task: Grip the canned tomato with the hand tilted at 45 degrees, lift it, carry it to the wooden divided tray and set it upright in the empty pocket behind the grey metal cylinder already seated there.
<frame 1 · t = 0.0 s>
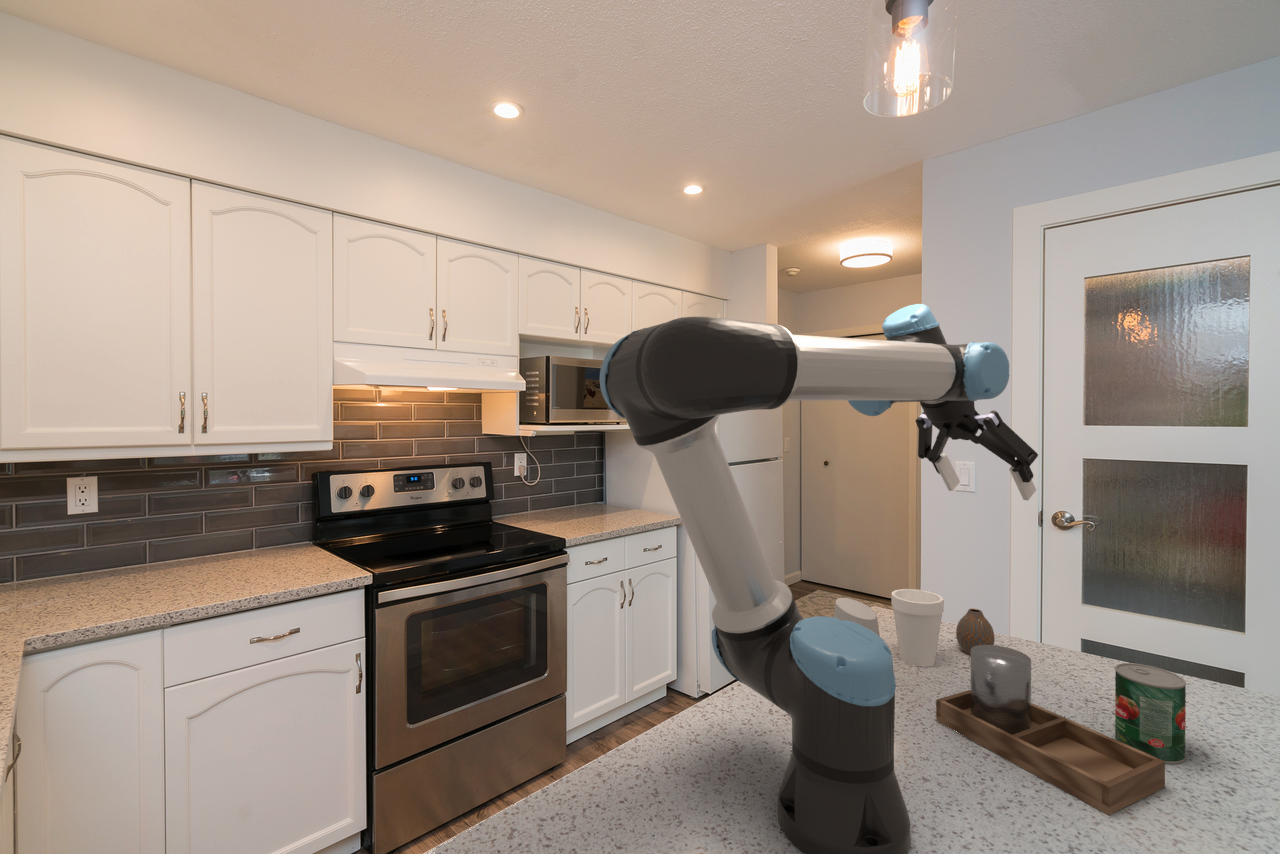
hand: (990, 490, 103), 36 cm above the countertop, tool tilted 35°, fingers open, 13 cm apart
foam cup: (917, 661, 117), on the countertop
smart speaker: (856, 677, 111), on the countertop
vase: (975, 653, 121), on the countertop
seated cylinder: (999, 731, 91), resting on wooden divided tray
canned tomato: (1148, 749, 86), on the countertop
wooden divided tray: (1039, 751, 86), on the countertop
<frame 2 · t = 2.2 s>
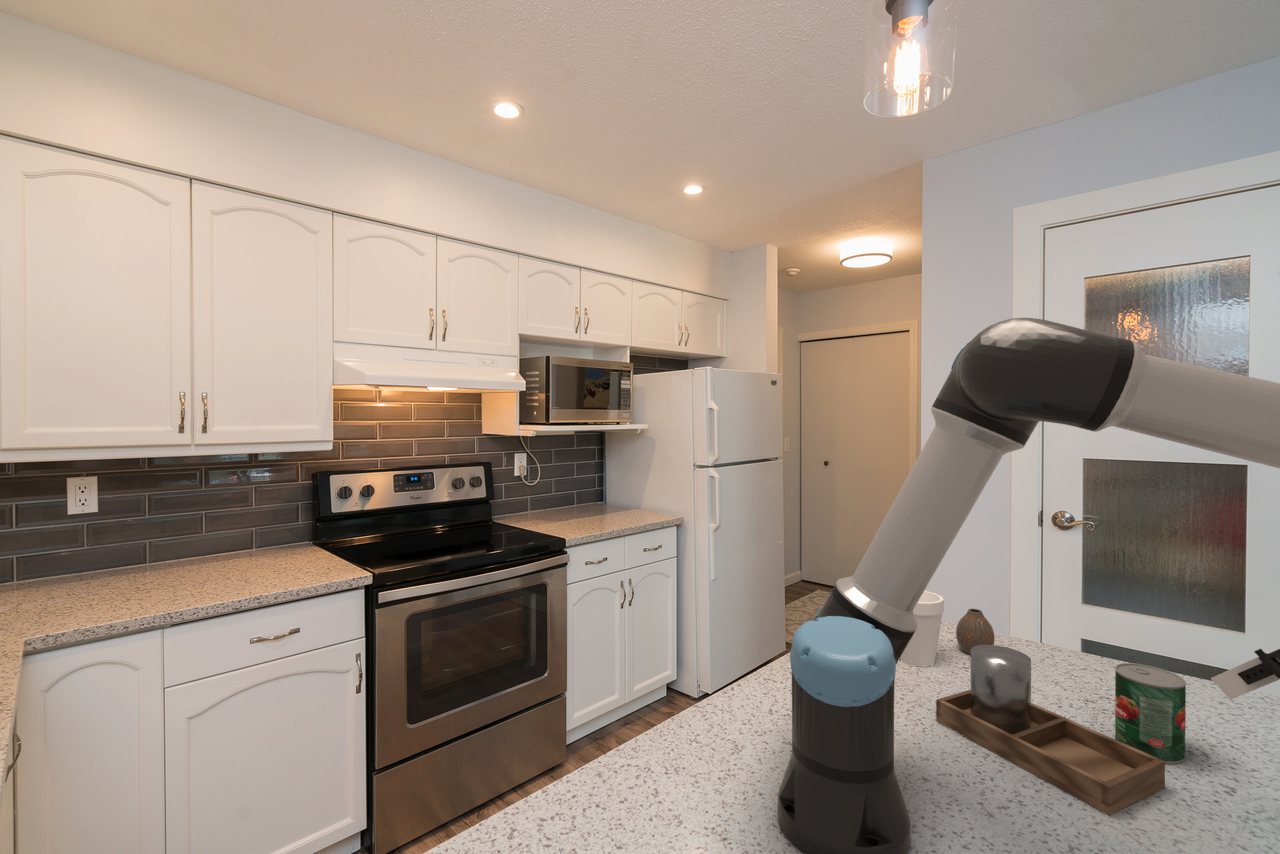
hand: (1247, 677, 76), 15 cm above the countertop, tool tilted 45°, fingers open, 13 cm apart
nothing on the countertop moved.
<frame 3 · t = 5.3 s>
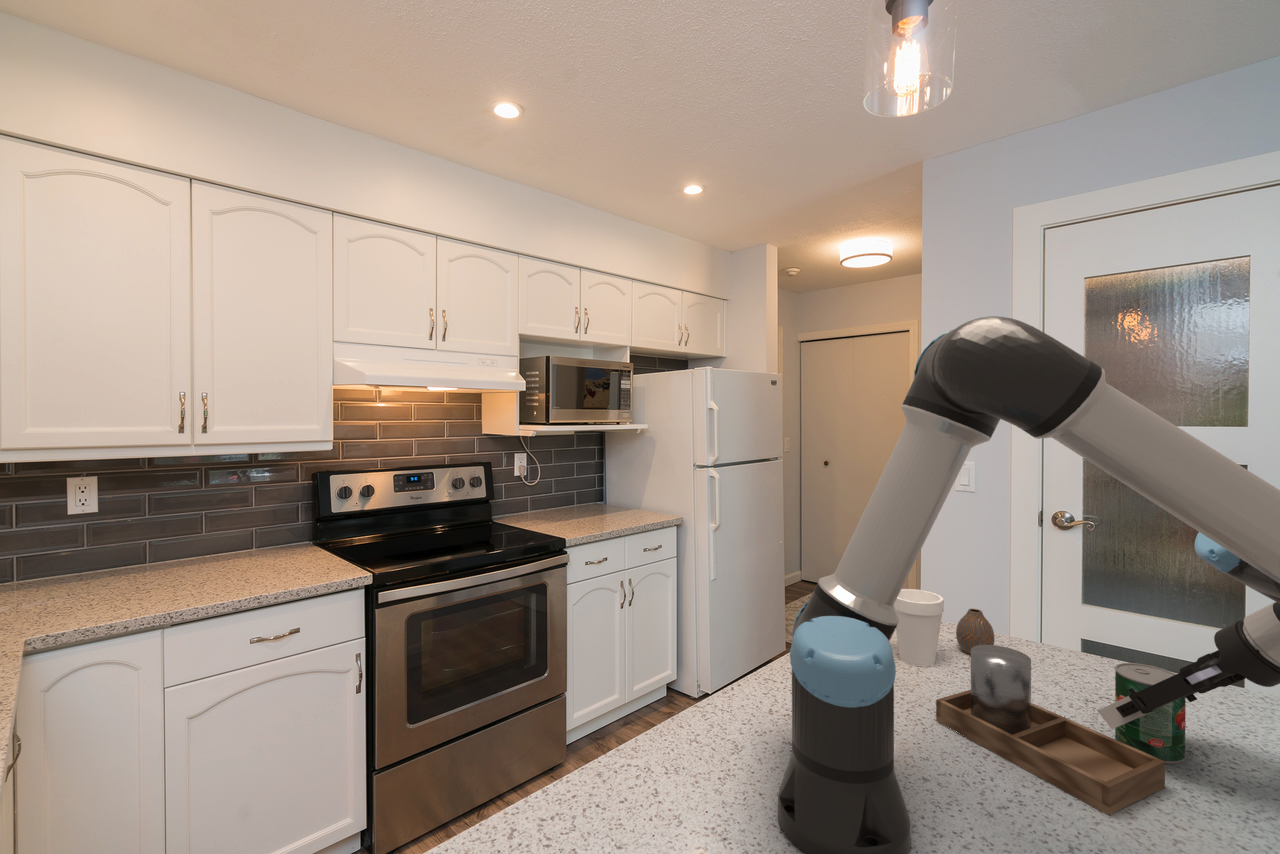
hand: (1122, 713, 89), 4 cm above the countertop, tool tilted 45°, fingers closed on canned tomato, 8 cm apart
canned tomato: (1148, 749, 86), on the countertop, touching gripper
everything else where it was.
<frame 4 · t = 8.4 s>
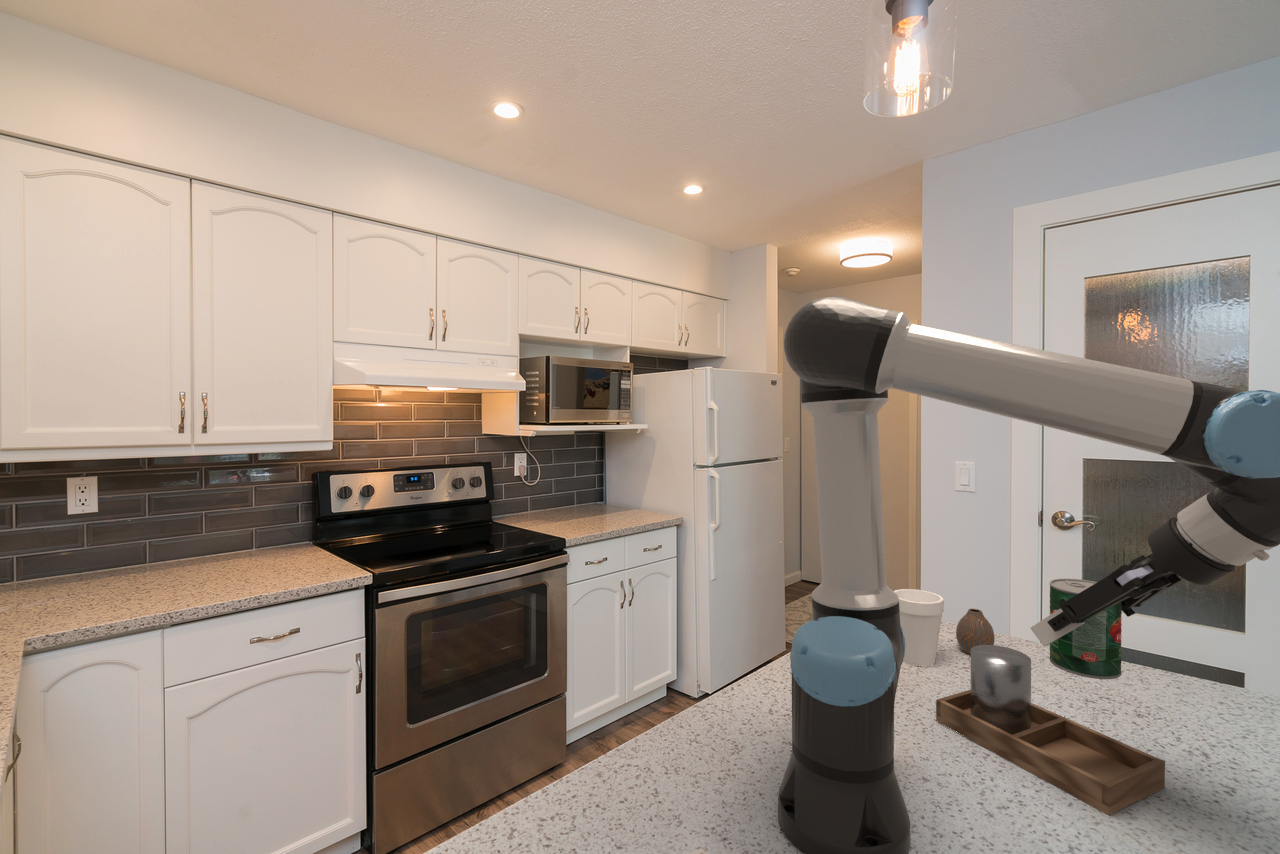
hand: (1057, 631, 83), 18 cm above the countertop, tool tilted 45°, fingers closed on canned tomato, 8 cm apart
canned tomato: (1084, 667, 80), point 15 cm above the countertop, touching gripper
everything else where it was.
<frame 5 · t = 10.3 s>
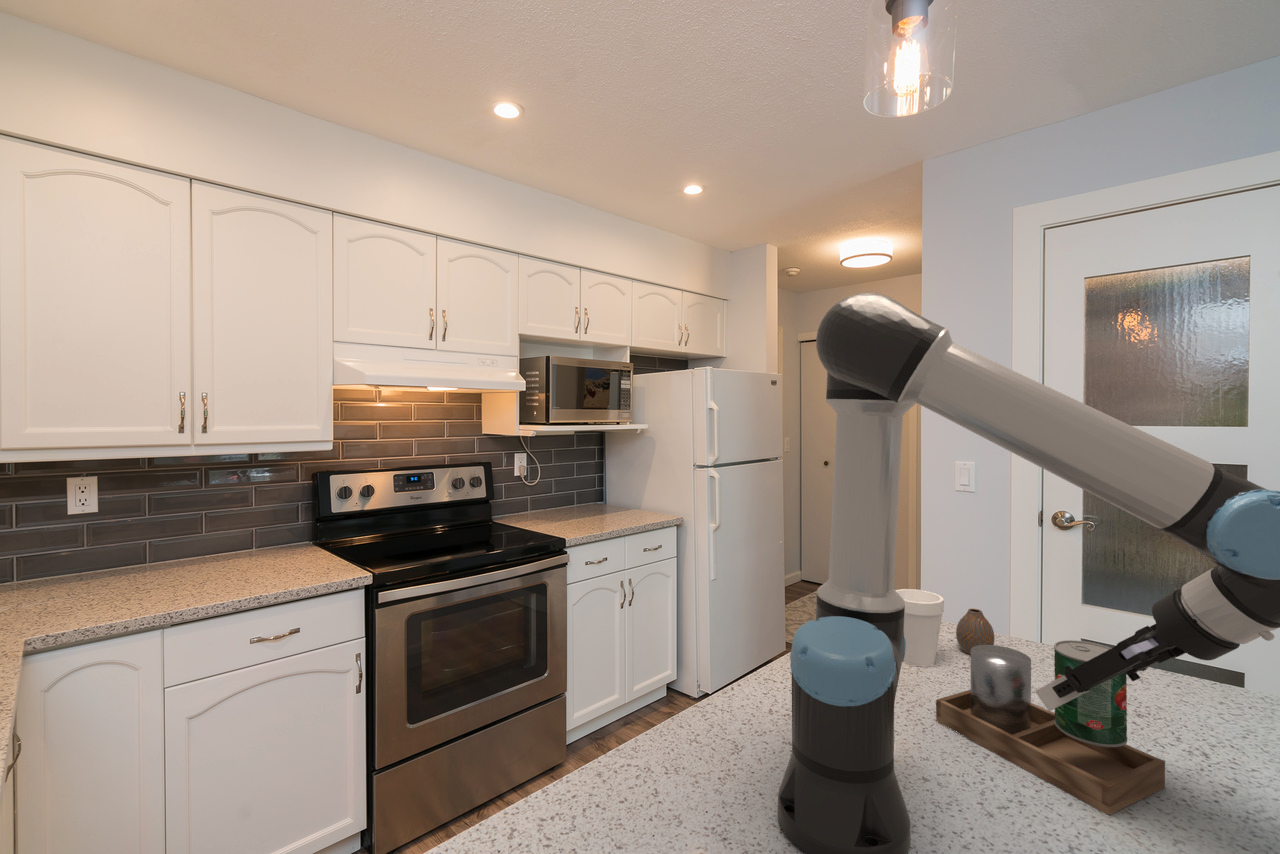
hand: (1062, 694, 83), 10 cm above the countertop, tool tilted 45°, fingers closed on canned tomato, 8 cm apart
canned tomato: (1089, 732, 80), point 6 cm above the countertop, touching gripper
everything else where it was.
when the fingers open (6 cm above the countertop, at t = 11.7 s): canned tomato drops 1 cm, resting on wooden divided tray.
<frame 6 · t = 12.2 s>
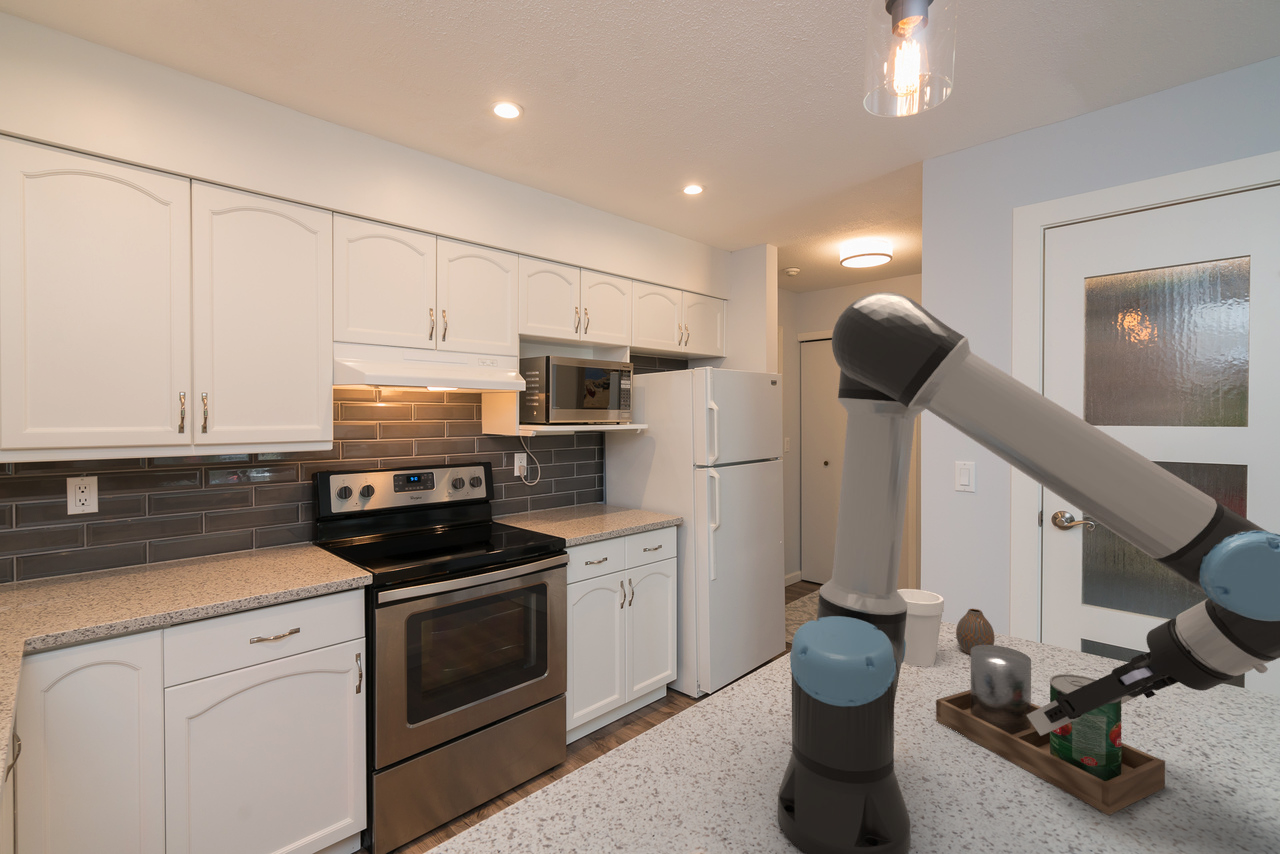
hand: (1065, 714, 82), 7 cm above the countertop, tool tilted 45°, fingers open, 13 cm apart
canned tomato: (1084, 767, 80), point 1 cm above the countertop, touching wooden divided tray
everything else where it was.
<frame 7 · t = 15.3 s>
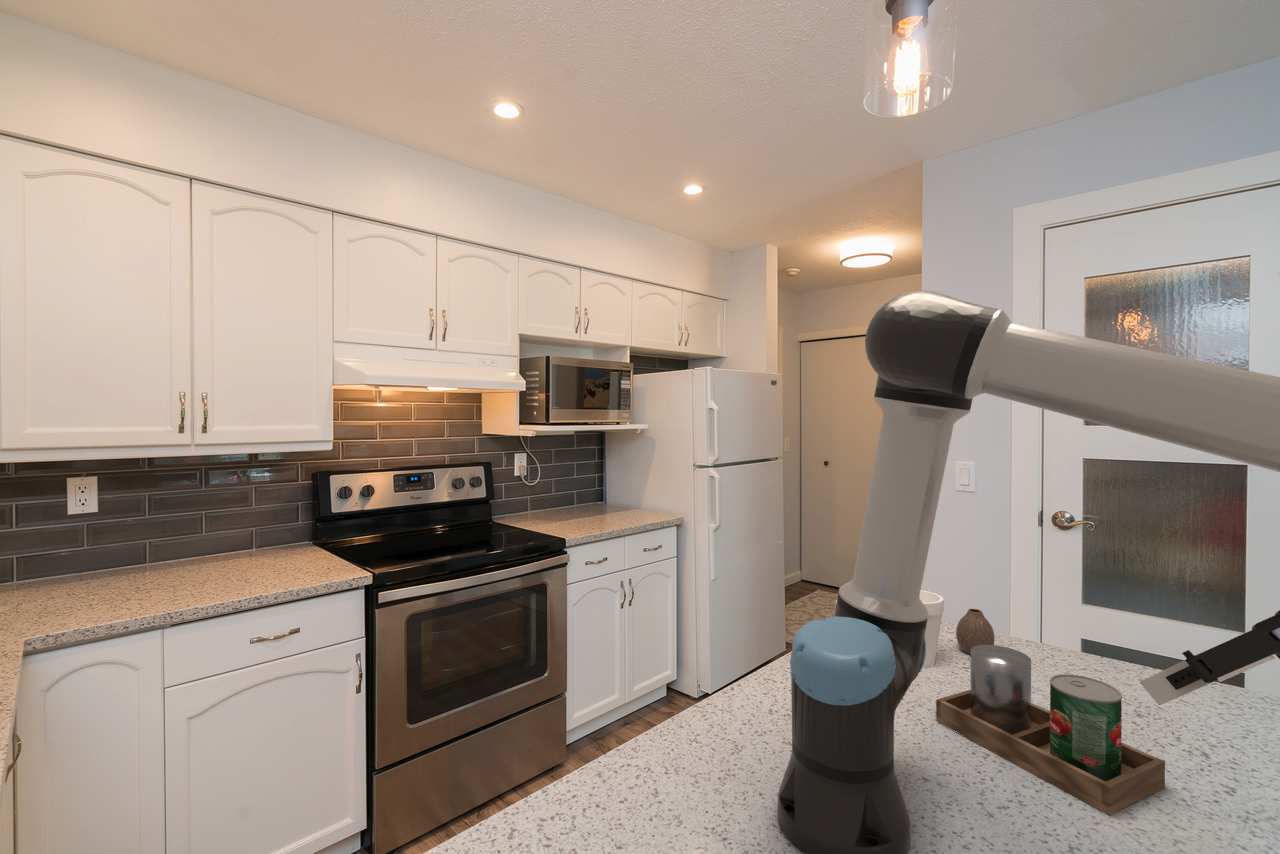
hand: (1181, 681, 70), 17 cm above the countertop, tool tilted 45°, fingers open, 13 cm apart
nothing on the countertop moved.
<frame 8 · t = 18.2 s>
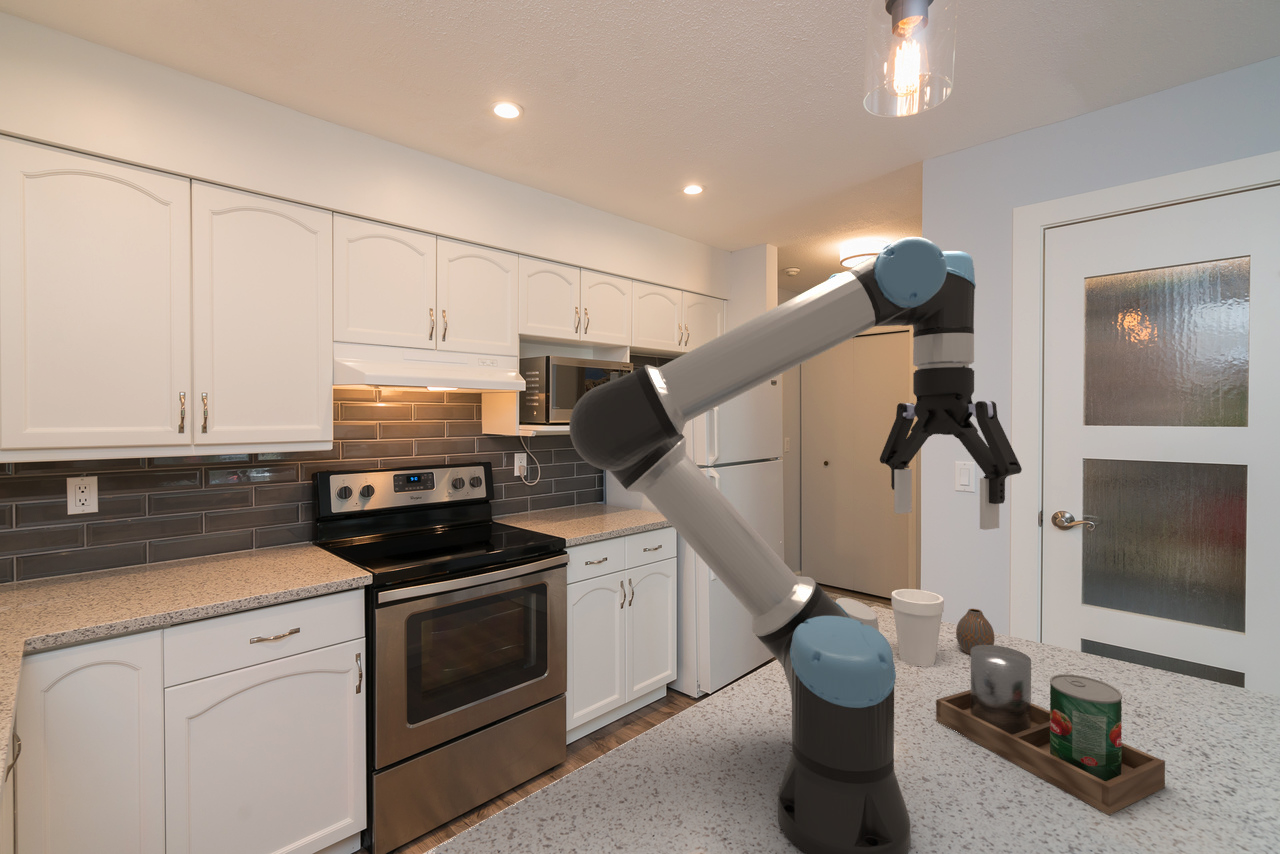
hand: (943, 520, 82), 35 cm above the countertop, tool pointing down, fingers open, 13 cm apart
nothing on the countertop moved.
at the end: canned tomato 0.1 cm from the target spot on the wooden divided tray, point 0.8 cm above the wooden divided tray's base; canned tomato tilted 0°; the gripper is holding nothing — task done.
